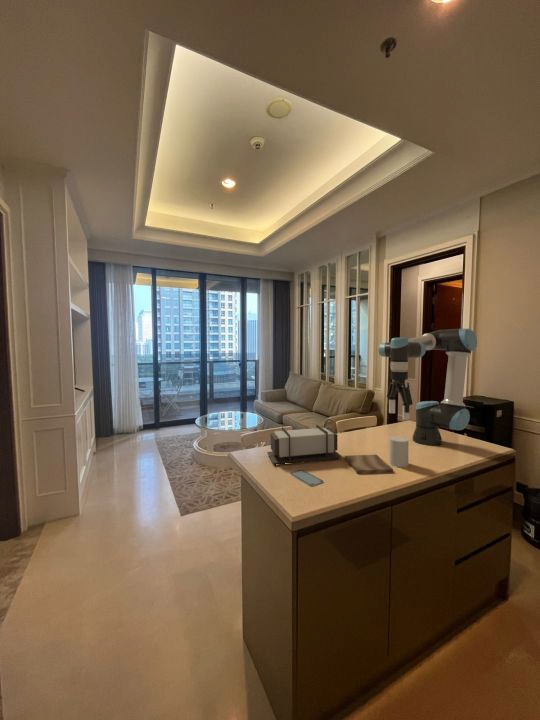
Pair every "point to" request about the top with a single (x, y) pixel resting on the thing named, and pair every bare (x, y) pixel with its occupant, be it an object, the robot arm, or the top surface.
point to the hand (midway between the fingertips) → (398, 416)
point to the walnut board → (368, 464)
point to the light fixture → (303, 445)
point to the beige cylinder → (399, 451)
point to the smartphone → (306, 478)
